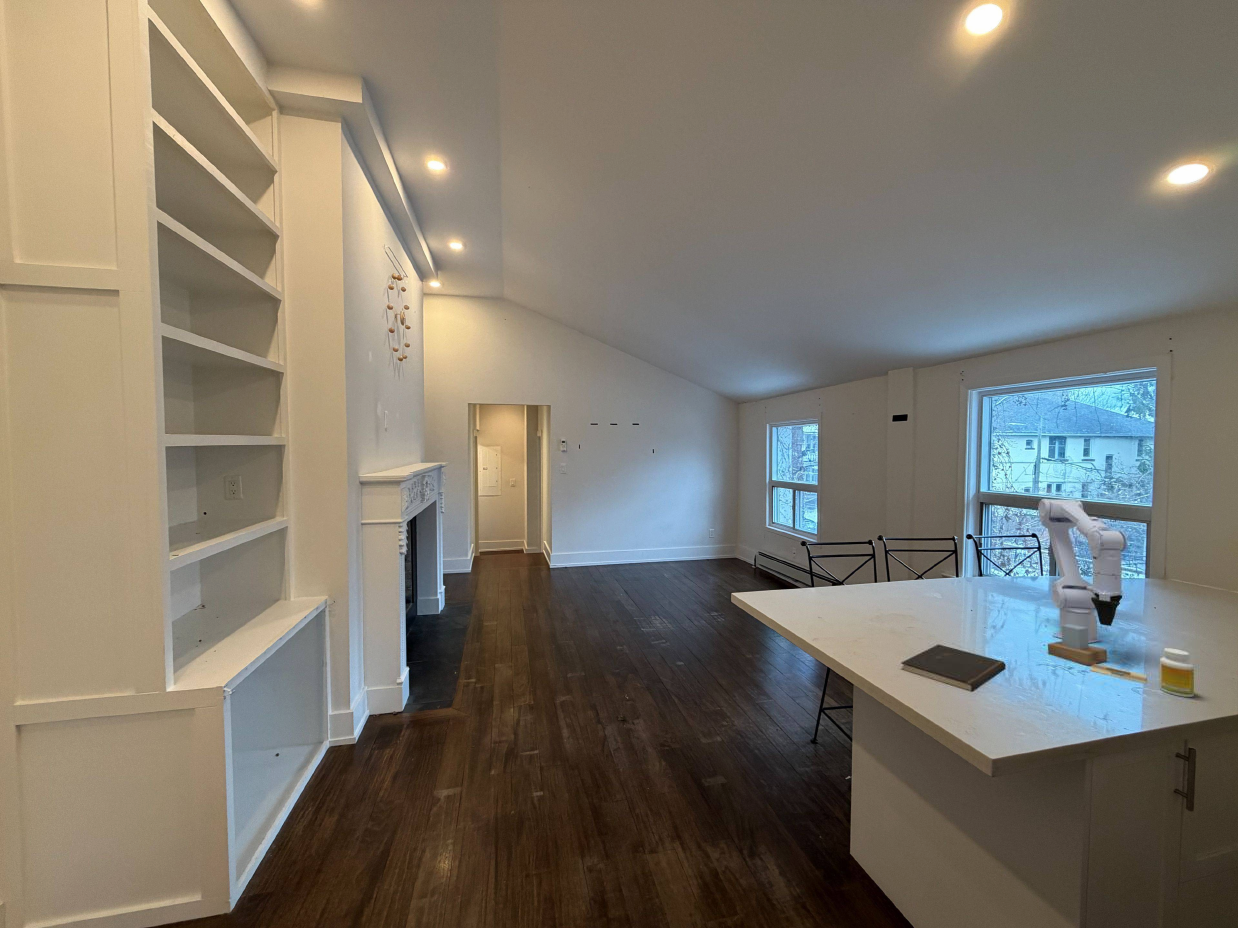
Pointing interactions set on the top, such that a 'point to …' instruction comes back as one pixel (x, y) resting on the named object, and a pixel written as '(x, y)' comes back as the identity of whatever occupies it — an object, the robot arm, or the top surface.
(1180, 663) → the supplement bottle
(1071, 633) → the gray brick
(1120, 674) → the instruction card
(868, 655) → the top surface
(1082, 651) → the walnut slab
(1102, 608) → the robot arm
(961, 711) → the top surface
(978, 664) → the hardcover book
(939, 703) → the top surface
